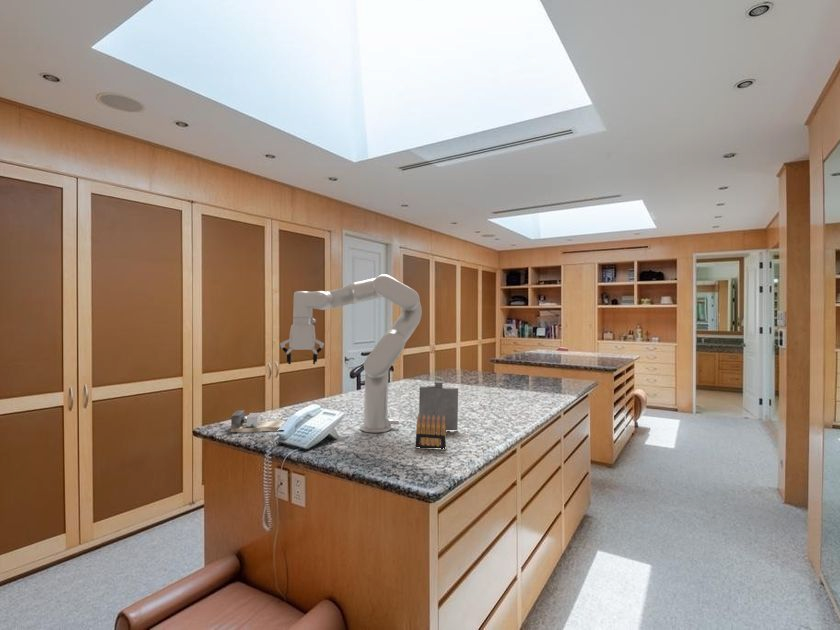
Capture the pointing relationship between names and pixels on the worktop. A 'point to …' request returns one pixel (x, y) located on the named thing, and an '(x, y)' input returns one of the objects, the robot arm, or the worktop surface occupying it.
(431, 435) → the ammunition clip
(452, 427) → the hip flask
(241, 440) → the worktop surface
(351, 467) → the worktop surface
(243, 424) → the gauge base
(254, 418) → the gauge carriage
